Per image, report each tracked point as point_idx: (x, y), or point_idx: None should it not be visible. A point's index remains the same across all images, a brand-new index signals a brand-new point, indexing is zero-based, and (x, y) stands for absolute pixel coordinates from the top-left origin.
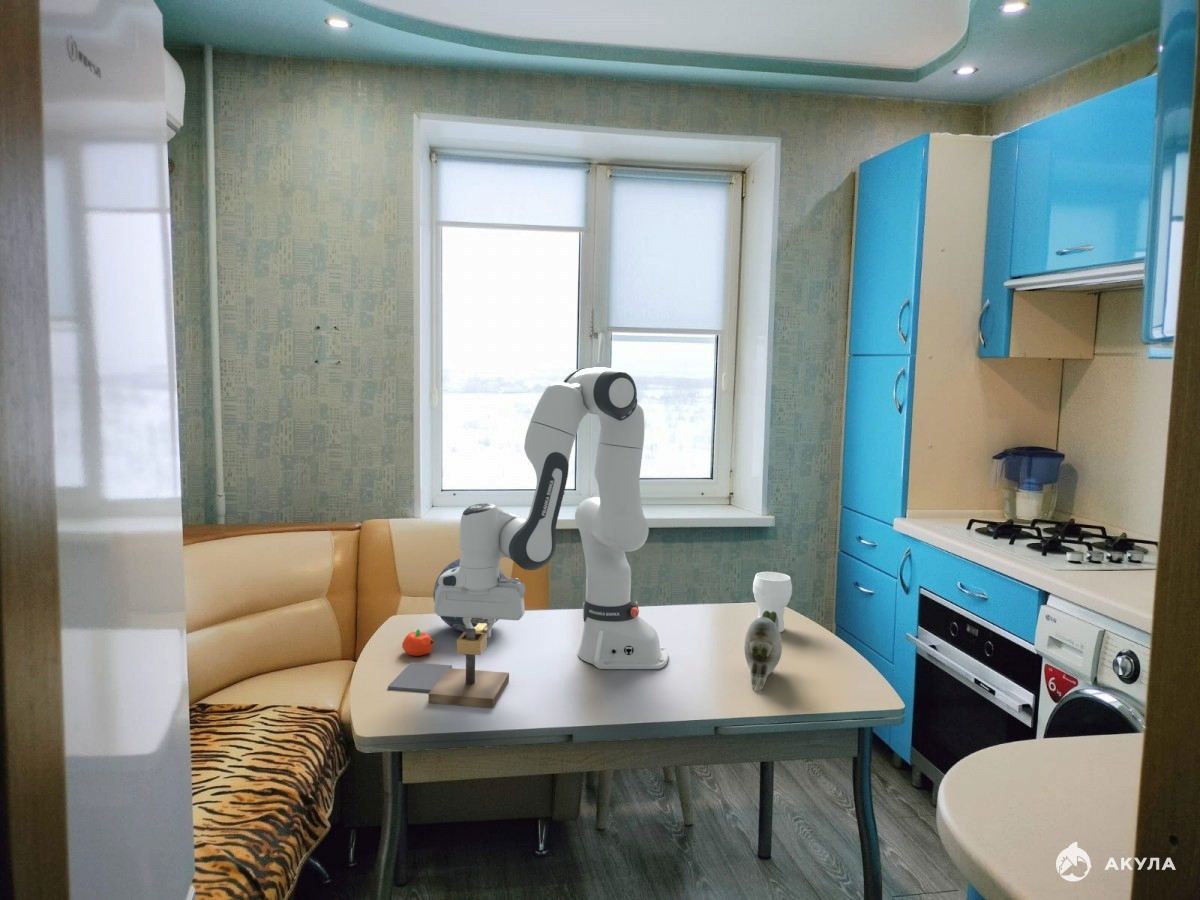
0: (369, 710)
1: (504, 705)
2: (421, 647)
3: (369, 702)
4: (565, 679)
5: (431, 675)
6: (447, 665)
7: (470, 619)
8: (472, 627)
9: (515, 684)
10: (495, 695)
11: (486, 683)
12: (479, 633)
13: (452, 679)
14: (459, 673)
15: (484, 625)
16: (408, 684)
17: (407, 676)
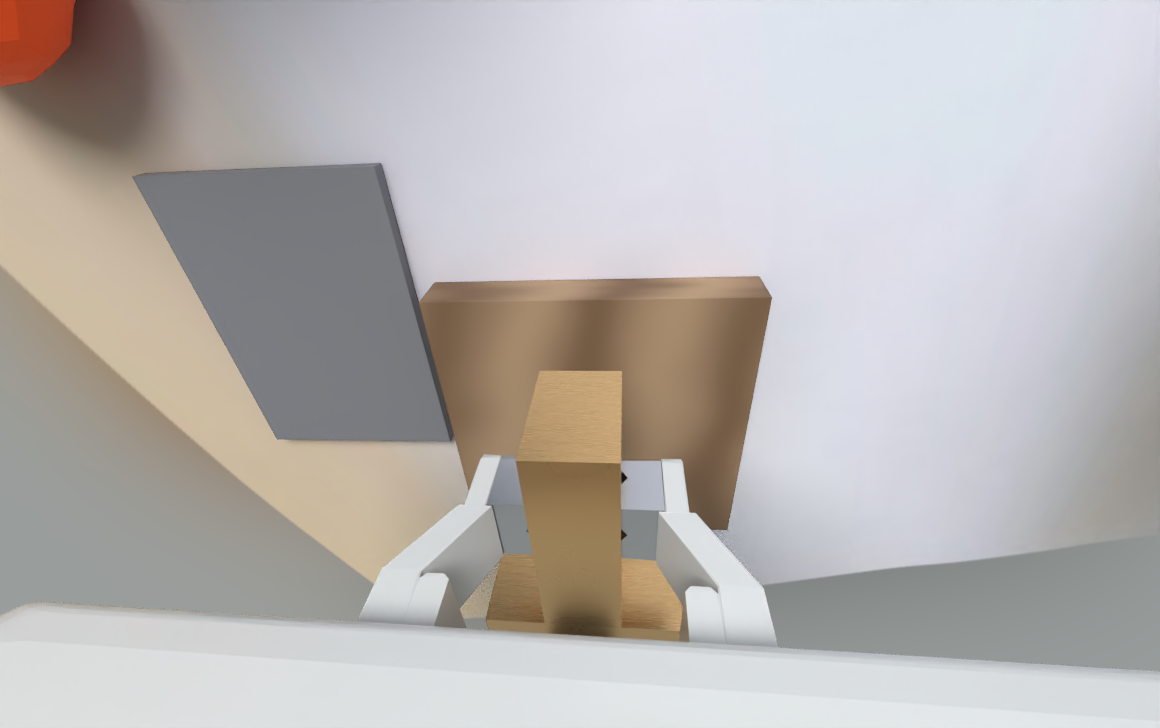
0: (350, 545)
1: (760, 480)
2: (31, 62)
3: (310, 511)
4: (1136, 177)
5: (360, 321)
6: (351, 175)
7: (458, 613)
8: (498, 523)
9: (797, 304)
10: (731, 505)
11: (671, 429)
12: (623, 636)
13: (503, 416)
14: (503, 354)
15: (609, 510)
16: (334, 415)
17: (270, 349)
